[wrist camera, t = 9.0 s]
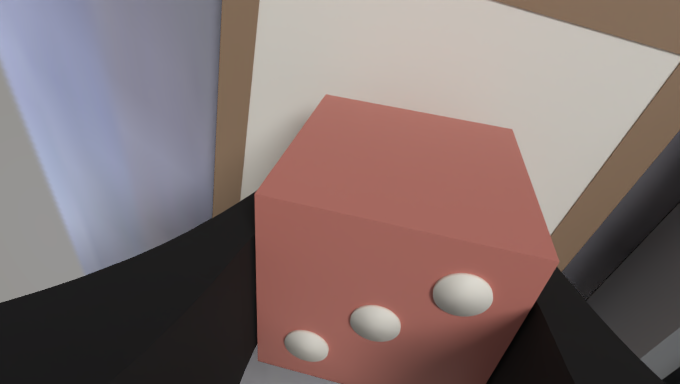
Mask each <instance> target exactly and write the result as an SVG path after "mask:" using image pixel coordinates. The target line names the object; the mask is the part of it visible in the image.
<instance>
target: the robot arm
mask: <svg viewBox="0 0 680 384" xmlns="http://www.w3.org/2000/svg"><path fill="white" fill-rule="evenodd" d="M255 192H256V191H255ZM255 192H254V193H252V194H251V195H249V196H248V197H246V198H244V199H243V200H241V201H240V202H238V203H237V204H235V205H233V206H232V207H230V208H229V209H227V210H225V211H224V212H222V213H220V214H219V215H217V216H215V217H213V218H211V219H210V220H208V221H206V222H204V223H203V224H201V225H199V226H197V227H195V228H194V229H192V230H190V231H188V232H186V233H184V234H182V235H180V236H178V237H176V238H174V239H172V240H170V241H168V242H166V243H164V244H162V245H160V246H157V247H155V248H153V249H151V250H149V251H146V252H144V253H142V254H140V255H137V256H135V257H133V258H130V259H128V260H125V261H122V262H120V263H117V264H114V265H112V266H109V267H107V268H104V269H101V270H99V271H96V272H94V273H91V274H88V275H86V276H83V277H80V278H78V279H75V280H72V281H69V282H66V283H63V284H60V285H57V286H54V287H51V288H48V289H45V290H42V291H38V292H35V293H32V294H29V295H25V296H22V297H19V298H15V299H12V300H9V301H5V302H2V303H0V384H240V381H241V379H242V376H243V374H244V371H245V369H246V366H247V364H248V362H249V360H250V358H251V355H252V353H253V351H254V349H255V347H256V345H257V343H258V342H257V293H256V245H255V196H254V194H255ZM486 384H665V383H664V382H663V381H662V380H661V379H660V378H659V377H658V376H657V375H656V374H655V373H654V372H653V371H652V370H651V369H650V368H649V367H648V366H647V365H646V364H645V363H644V362H643V361H641V360H640V359H639V358H638V357H637V356H636V355H635V354H634V353H633V352H632V351H631V350H630V349H629V347H628V346H627V345H626V344H625V343H624V342H623V341H622V340H621V339H620V338H619V337H618V336H617V335H616V334H615V333H614V332H613V331H612V330H611V328H610V327H609V326H608V325H607V324H606V323H605V322H604V321H603V320H602V319H601V318H600V317H599V315H598V314H597V313H596V312H595V311H594V310H593V309H592V308H591V306H590V305H589V304H588V303H587V302H586V301H585V300H584V298H583V297H582V296H581V295H580V294H579V293H578V291H577V290H576V289H575V288H574V287H573V286H572V284H571V283H570V282H569V281H568V279H567V278H566V277H565V276H564V275H563V273H562V272H561V271H560V270H559V268H558V267H556V269H555V270H554V272H553V274H552V275H551V277H550V278H549V280H548V282H547V283H546V285H545V287H544V288H543V290H542V292H541V293H540V295H539V297H538V298H537V300H536V302H535V303H534V305H533V307H532V308H531V310H530V312H529V313H528V315H527V317H526V318H525V320H524V321H523V323H522V325H521V326H520V328H519V330H518V331H517V333H516V335H515V336H514V338H513V340H512V341H511V343H510V345H509V346H508V348H507V350H506V351H505V353H504V355H503V356H502V358H501V360H500V361H499V363H498V364H497V366H496V368H495V369H494V371H493V373H492V374H491V376H490V378H489V379H488V381H487V383H486Z"/></svg>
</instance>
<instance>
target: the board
mask: <svg viewBox="0 0 680 384" xmlns="http://www.w3.org/2000/svg"><path fill="white" fill-rule="evenodd" d="M326 94H327V95H333V96H338V97H343V98H349V99H354V100H359V101H365V102H370V103H375V104H381V105H386V106H391V107H397V108H402V109H407V110H413V111H418V112H423V113H429V114H434V115H439V116H445V117H450V118H455V119H461V120H466V121H471V122H477V123H482V124H487V125H493V126H498V127H503V128H509V129H512V130H513V133H514V135H515V138H516V141H517V144H518V147H519V149H520V152H521V155H522V158H523V161H524V163H525V166H526V169H527V172H528V175H529V177H530V180H531V183H532V186H533V189H534V191H535V194H536V197H537V200H538V203H539V205H540V208H541V211H542V214H543V217H544V219H545V222H546V225H547V228H548V231H549V233H550V236H551V239H552V242H553V245H554V247H555V250H556V253H557V256H558V259H559V261H560V262H559V264H558V265H557V267H558V268H559V270H560V271H561V272H562V271H563V270H564V268H565V267H566V266H567V265H568V264H569V262H570V261H571V260H572V259H573V258H574V256H575V255H576V254H577V253H578V252H579V250H580V249H581V248H582V247H583V246H584V244H585V243H586V242H587V241H588V240H589V238H590V237H591V236H592V235H593V234H594V232H595V231H596V230H597V229H598V228H599V226H600V225H601V224H602V223H603V222H604V220H605V219H606V218H607V217H608V216H609V214H610V213H611V212H612V211H613V209H614V208H615V207H616V206H617V205H618V203H619V202H620V201H621V200H622V199H623V197H624V196H625V195H626V194H627V193H628V191H629V190H630V189H631V188H632V187H633V185H634V184H635V183H636V182H637V181H638V179H639V178H640V177H641V176H642V175H643V173H644V172H645V171H646V170H647V169H648V167H649V166H650V165H651V164H652V163H653V161H654V160H655V159H656V158H657V157H658V155H659V154H660V153H661V152H662V151H663V149H664V148H665V147H666V146H667V145H668V143H669V142H670V141H671V140H672V139H673V137H674V136H675V135H676V134H677V133H678V131H679V130H680V0H222V15H221V38H220V60H219V82H218V105H217V127H216V149H215V172H214V194H213V216H212V218H213V217H215V216H217V215H219V214H220V213H222V212H224V211H225V210H227V209H229V208H230V207H232V206H233V205H235V204H237V203H238V202H240V201H241V200H243V199H244V198H246V197H248V196H249V195H251V194H252V193H254V192H255V191H257V190H258V188H259V187H260V185H261V184H262V183H263V181H264V180H265V178H266V177H267V176H268V174H269V173H270V172H271V170H272V169H273V167H274V166H275V165H276V163H277V162H278V160H279V159H280V158H281V156H282V155H283V153H284V152H285V151H286V149H287V148H288V146H289V145H290V144H291V142H292V141H293V139H294V138H295V137H296V135H297V134H298V132H299V131H300V130H301V128H302V127H303V125H304V124H305V123H306V121H307V120H308V118H309V117H310V116H311V114H312V113H313V111H314V110H315V109H316V107H317V106H318V104H319V103H320V102H321V100H322V99H323V98H324V96H325V95H326Z"/></svg>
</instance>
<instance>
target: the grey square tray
mask: <svg viewBox="0 0 680 384" xmlns="http://www.w3.org/2000/svg"><path fill="white" fill-rule="evenodd" d="M586 302H587V303H588V304H589V305H590V306H591V308H592V309H593V310H594V311H595V312H596V313H597V314H598V315H599V317H600V318H601V319H602V320H603V321H604V322H605V323H606V324H607V325H608V326H609V327H610V328H611V330H612V331H613V332H614V333H615V334H616V335H617V336H618V337H619V338H620V339H621V340H622V341H623V342H624V343H625V344H626V345H627V346H628V347H629V349H630V350H631V351H632V352H633V353H634V354H635V355H636V356H637V357H638V358H639V359H640V360H641V361H643V362H644V363H645V364H646V365H647V366H648V367H649V368H650V369H651V370H652V371H653V372H654V373H655V374H656V375H657V376H658V377H659V378H660V379H661V380H662V381H663V382H664V383H665V384H680V203H679V204H678V205H677V206H676V207H675V208H674V209H673V210H672V211H671V212H670V213H669V214H668V215H667V216H666V217H665V219H664V220H663V221H662V222H661V223H660V224H659V225H658V226H657V227H656V228H655V229H654V230H653V231H652V232H651V233H650V234H649V235H648V236H647V237H646V239H645V240H644V241H643V242H642V243H641V244H640V245H639V246H638V247H637V248H636V249H635V250H634V251H633V252H632V253H631V254H630V255H629V256H628V257H627V259H626V260H625V261H624V262H623V263H622V264H621V265H620V266H619V267H618V268H617V269H616V270H615V271H614V272H613V273H612V274H611V275H610V276H609V277H608V279H607V280H606V281H605V282H604V283H603V284H602V285H601V286H600V287H599V288H598V289H597V290H596V291H595V292H594V293H593V294H592V295H591V296H590V297H589V299H588V300H587V301H586Z"/></svg>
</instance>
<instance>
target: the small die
mask: <svg viewBox="0 0 680 384" xmlns="http://www.w3.org/2000/svg"><path fill="white" fill-rule="evenodd" d="M254 196H255V245H256V293H257V342H258V361H260V362H264V363H268V364H271V365H275V366H279V367H282V368H286V369H289V370H293V371H297V372H300V373H304V374H308V375H311V376H315V377H319V378H322V379H326V380H330V381H333V382H337V383H341V384H486V383H487V381H488V379H489V378H490V376H491V374H492V373H493V371H494V369H495V368H496V366H497V364H498V363H499V361H500V360H501V358H502V356H503V355H504V353H505V351H506V350H507V348H508V346H509V345H510V343H511V341H512V340H513V338H514V336H515V335H516V333H517V331H518V330H519V328H520V326H521V325H522V323H523V321H524V320H525V318H526V317H527V315H528V313H529V312H530V310H531V308H532V307H533V305H534V303H535V302H536V300H537V298H538V297H539V295H540V293H541V292H542V290H543V288H544V287H545V285H546V283H547V282H548V280H549V278H550V277H551V275H552V274H553V272H554V270H555V269H556V267H557V265H558V264H559V262H560V261H559V259H558V256H557V253H556V250H555V247H554V245H553V242H552V239H551V236H550V233H549V231H548V228H547V225H546V222H545V219H544V217H543V214H542V211H541V208H540V205H539V203H538V200H537V197H536V194H535V191H534V189H533V186H532V183H531V180H530V177H529V175H528V172H527V169H526V166H525V163H524V161H523V158H522V155H521V152H520V149H519V147H518V144H517V141H516V138H515V135H514V133H513V130H512V129H509V128H503V127H498V126H493V125H487V124H482V123H477V122H471V121H466V120H461V119H455V118H450V117H445V116H439V115H434V114H429V113H423V112H418V111H413V110H407V109H402V108H397V107H391V106H386V105H381V104H375V103H370V102H365V101H359V100H354V99H349V98H343V97H338V96H333V95H327V94H326V95H325V96H324V98H323V99H322V100H321V102H320V103H319V104H318V106H317V107H316V109H315V110H314V111H313V113H312V114H311V116H310V117H309V118H308V120H307V121H306V123H305V124H304V125H303V127H302V128H301V130H300V131H299V132H298V134H297V135H296V137H295V138H294V139H293V141H292V142H291V144H290V145H289V146H288V148H287V149H286V151H285V152H284V153H283V155H282V156H281V158H280V159H279V160H278V162H277V163H276V165H275V166H274V167H273V169H272V170H271V172H270V173H269V174H268V176H267V177H266V178H265V180H264V181H263V183H262V184H261V185H260V187H259V188H258V190H257V191H256V192H255V194H254Z"/></svg>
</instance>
